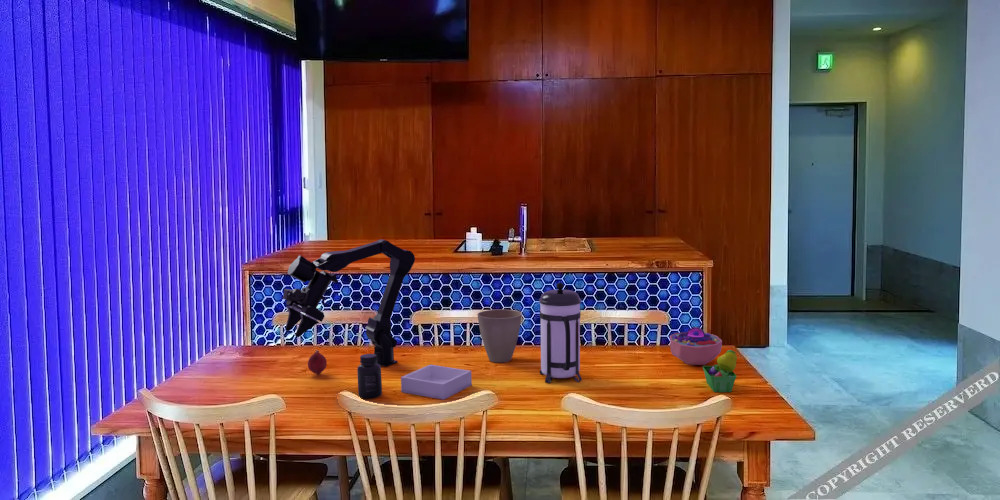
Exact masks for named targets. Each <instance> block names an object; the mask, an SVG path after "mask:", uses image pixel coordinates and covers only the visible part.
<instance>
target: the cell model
mask: <svg viewBox="0 0 1000 500" xmlns="http://www.w3.org/2000/svg"><path fill="white" fill-rule="evenodd" d="M669 344H670V345H669V346H670V353H671V355H672V356H674V357H676V358H677V359H679V360H681V361H682V362H683V363H685V364H687V365H690V366H706V365H707V364H708V363H710V362H712V361H713V360H715V358H717V356H718V355H720V353H721V351H722V346H723V345H722V344H723V340H722V339H721V338H720V337H719V336H717V335H715V334H711V333H709V332H705V331H704V329H702V328H701V327H699V326H694V327H690V328H689V329H688V330H687V331H686V332H685V331H684V332H675V333H673V334H671V335H669Z"/></svg>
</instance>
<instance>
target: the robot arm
mask: <svg viewBox="0 0 1000 500" xmlns="http://www.w3.org/2000/svg"><path fill="white" fill-rule="evenodd" d="M379 254H384V256H386V257H388V258H389V259H390V260H389V271H390V272H389V276H388V279H387V282H386V286H385V288H384V292H383V294H382V298H381V300H380V304H379V308H378V309H377V313H376V314H375V316H374V317H370V316H369V318H368V319H367V324H366V326H365V328H364V329H365V335H366V337H367V338H368V339H369V340H370V341H371V343H372V345H375V346H373V349H374V351H373V354H376V355H377V363H378V364H379V365H380V366H381V367H384V368H385V367H386V368H387V367H389V366H392V365H394V364H396V363H398V360H397V359H396V360H395V356H394V355H395V353H394V352H395V351H394V348H396V346H397V343H398V340H397V339H395V338H394V336H392V335H391V331H392V321H391V320H392V314H393V312H394V309H395V306H396V303H397V300H398V297H399V293H400V291H401V288H402V285H403V282H404V279H405V277H406V276H407V275H408V274H409V273H410V271H411V270H412V267H413V266H414V265H415V261H416V257H415V255H414V253H413V252H412V251H411V250H408V249H403V248H401V247H398V246H397V245H395V244H393V243H392V242H390V241H389V240H387V239H378V240H376V241H373V242H370V243H367V244H363V245H360V246H356V247H353V248H350V249H347V250H335V251H326V252H324V253H322V254H321V255H320V257H319V258H317V259H315V260H313V261H310V260H308V259H307V258H305V257H304V256H302V255H298V256H297V258H296V259H295V258H294V261H293V262H292V263H290V265H289V267H288V269H287V275H289V276H290V277H293V278H294V279H296V280H299V281H300V282H302V283H307V282H308V284H307V286H304V287H302V288H301V289H299V288H293V289H292V288H291V289H289V288H284V289H283V294H282V295H283V296H282V299H283V300H285V301H286V302H285V304H286V309H287V310H288V311H287V312H288V317H287V321H286V326H285V329H284V330H285V331H286V332H288V333H289V332H290V331H291V330H292V329H293V328H294V327H296V325H297V324H298V323H299V324H298V327H297V329H296V332H295V335H294V336H295V337H297V338H300V337H301V336H302V335H304V334H305V333H306V332H307V331H309V330H310V329H311V328H313V327H315V325H317V324H320V322H321V323H322V322H323V320H324V319H325V314H324V312H323V311H321V310H319V308H318V306H319V304H320V302H321V301H324V300H325V298H326V296H324V295H325V293H326V291H327V290H328V288H329V286H330V283H331V282H332V283H336V284H338V283H339V280H338V278H337V274H335V273H337V272H339V271H341V270H343V269H344V268H347V267H348V266H349V265H350V264H352V263H355V262H358V261H361V260H365V259H367V258H371V257H373V256H374V257H375V256H376V255H379ZM318 270H321V271H318ZM327 271H328V272H327ZM329 272H331V273H332V274H331V273H329Z"/></svg>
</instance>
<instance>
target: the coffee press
mask: <svg viewBox="0 0 1000 500" xmlns="http://www.w3.org/2000/svg"><path fill="white" fill-rule="evenodd" d="M564 286H565V285H564V283H563V282H557V284H556V289H550V290H547V291H545V292H543V293H541V296H540V298H539V300H538V302H539V304H540V311H539V318H540V370H539V374H540V375H545V379H544V383H546V384H551V383H552V381H553V379H555V378H556V379H567V378H572V379H574V381H575V382H576V383H579V382H582V380H583V378H582V376H581V374H580V371H581V359H580V358H581V350H580V349H581V344H580V343H581V338H580V337H581V335H580V334H581V322H580V321H581V315H582V314H581V303H582V298H580V296H579V293H577V292H576V291H573V290H571V289H570V290H569V289H564Z"/></svg>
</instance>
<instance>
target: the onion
mask: <svg viewBox="0 0 1000 500" xmlns="http://www.w3.org/2000/svg"><path fill="white" fill-rule="evenodd" d="M327 363H328V362H327V358H326V357H325V356H324V354H322V353H320V350H318V349H317V350H315V352H314V353H313V354H311V356H310V357H309V359H308V360H307V367H308V370H309V371H311V373H313V374H314V375H316V376H318V375H320V374H322V373H323V371H324V370H325V369H326V367H327Z"/></svg>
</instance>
